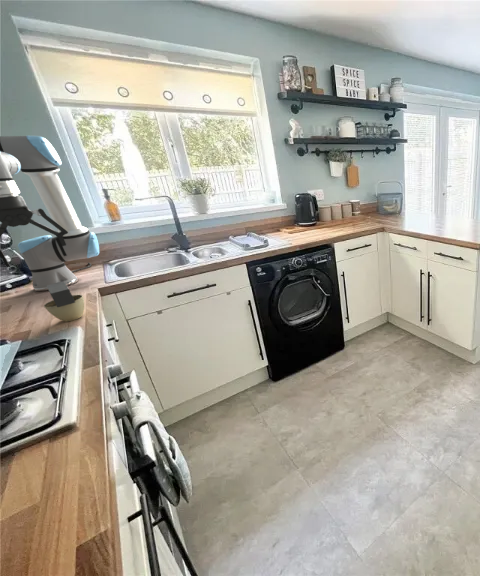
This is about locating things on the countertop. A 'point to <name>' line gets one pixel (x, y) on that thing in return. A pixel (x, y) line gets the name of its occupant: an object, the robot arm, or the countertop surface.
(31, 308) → the countertop surface
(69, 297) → the bar
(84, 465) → the countertop surface
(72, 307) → the olive yellow bowl
